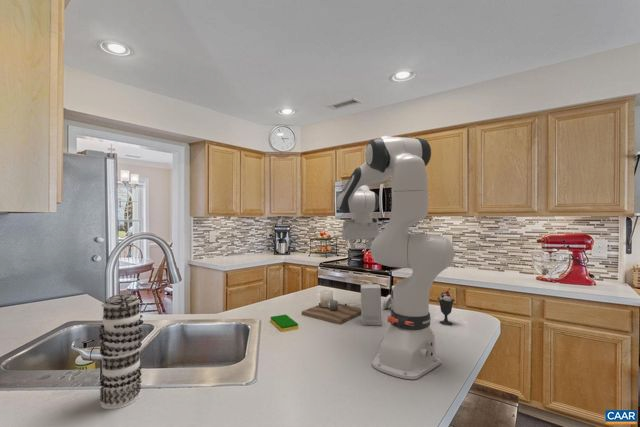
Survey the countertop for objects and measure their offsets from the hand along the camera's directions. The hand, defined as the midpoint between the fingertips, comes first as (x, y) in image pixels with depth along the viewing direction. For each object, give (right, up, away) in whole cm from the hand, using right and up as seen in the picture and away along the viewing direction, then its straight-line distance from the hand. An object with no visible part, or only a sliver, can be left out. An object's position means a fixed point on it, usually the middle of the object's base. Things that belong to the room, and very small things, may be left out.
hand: (360, 248), depth 152 cm
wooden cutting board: (-13, -29, -6) cm, 33 cm away
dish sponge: (-34, -30, -22) cm, 50 cm away
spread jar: (+16, -29, -2) cm, 34 cm away
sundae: (+33, -29, -19) cm, 48 cm away
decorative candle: (-68, -29, -74) cm, 105 cm away
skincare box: (+2, -29, -19) cm, 35 cm away
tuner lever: (-15, -27, -3) cm, 31 cm away
